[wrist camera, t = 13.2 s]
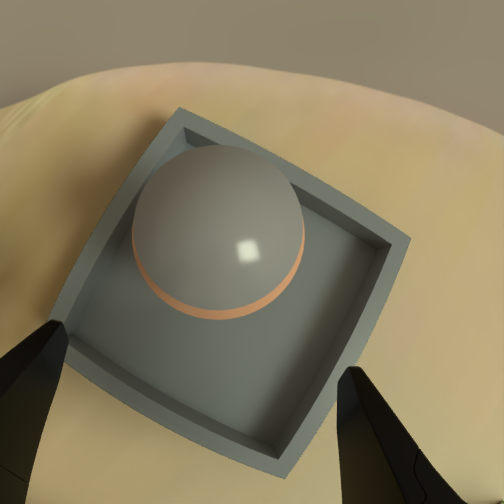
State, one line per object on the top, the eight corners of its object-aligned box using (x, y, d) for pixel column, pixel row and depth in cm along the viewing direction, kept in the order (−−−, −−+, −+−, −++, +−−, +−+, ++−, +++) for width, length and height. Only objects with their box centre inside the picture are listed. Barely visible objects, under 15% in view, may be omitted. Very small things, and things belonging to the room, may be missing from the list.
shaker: (271, 297, 17) (337, 287, 7) (190, 321, 17) (150, 344, 7) (247, 218, 18) (278, 121, 8) (168, 240, 17) (109, 164, 7)
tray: (277, 459, 16) (284, 479, 14) (58, 337, 16) (38, 340, 14) (390, 245, 19) (411, 238, 17) (183, 128, 19) (179, 106, 16)
